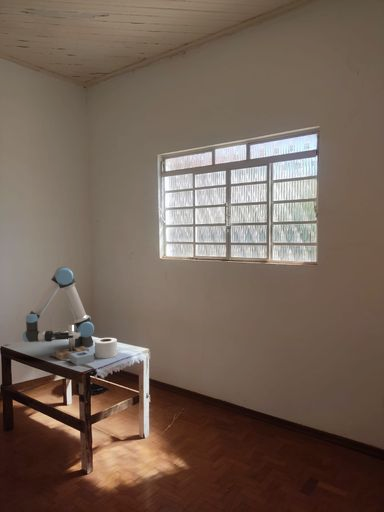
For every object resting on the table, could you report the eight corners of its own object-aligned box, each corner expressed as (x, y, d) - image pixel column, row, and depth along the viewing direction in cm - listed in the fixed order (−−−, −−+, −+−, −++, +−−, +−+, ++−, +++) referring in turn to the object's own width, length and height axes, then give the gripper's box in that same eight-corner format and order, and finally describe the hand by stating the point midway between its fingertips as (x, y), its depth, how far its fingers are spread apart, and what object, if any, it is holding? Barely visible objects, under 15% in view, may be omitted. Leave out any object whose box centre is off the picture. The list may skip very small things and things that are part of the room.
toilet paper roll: (90, 355, 262) (90, 340, 262) (108, 350, 274) (108, 336, 274) (103, 359, 252) (103, 344, 252) (121, 354, 264) (121, 339, 263)
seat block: (86, 357, 258) (86, 350, 258) (94, 361, 249) (93, 354, 248) (69, 361, 250) (69, 353, 250) (77, 365, 241) (76, 357, 241)
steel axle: (73, 349, 264) (72, 324, 263) (75, 350, 261) (74, 325, 260) (68, 350, 261) (67, 325, 261) (70, 351, 258) (69, 326, 258)
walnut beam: (83, 351, 272) (82, 346, 272) (88, 354, 264) (88, 349, 264) (55, 357, 259) (55, 351, 259) (61, 360, 251) (61, 354, 251)
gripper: (50, 338, 269) (82, 337, 269) (41, 344, 252) (75, 344, 252) (50, 328, 269) (82, 327, 269) (41, 334, 252) (75, 333, 252)
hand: (79, 335), depth 261 cm, fingers closed on steel axle, 4 cm apart
